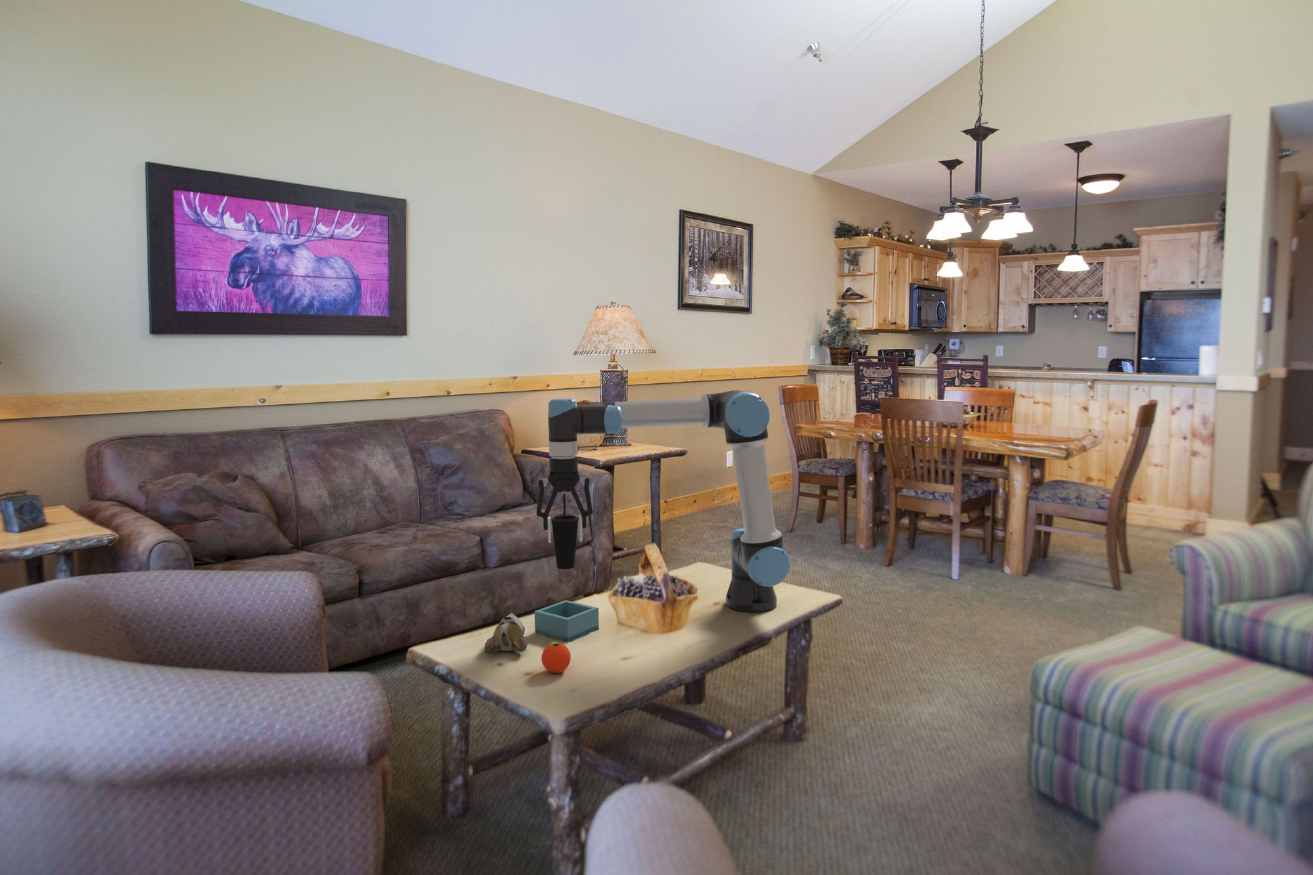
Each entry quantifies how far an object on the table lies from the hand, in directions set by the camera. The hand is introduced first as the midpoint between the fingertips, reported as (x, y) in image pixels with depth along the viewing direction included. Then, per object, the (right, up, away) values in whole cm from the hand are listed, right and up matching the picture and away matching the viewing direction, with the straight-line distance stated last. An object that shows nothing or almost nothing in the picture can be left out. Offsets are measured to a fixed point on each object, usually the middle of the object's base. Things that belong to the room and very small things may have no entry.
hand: (565, 540), depth 217 cm
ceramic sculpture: (-13, -27, -10) cm, 32 cm away
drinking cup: (0, -7, +1) cm, 7 cm away
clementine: (+1, -28, -25) cm, 38 cm away
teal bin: (0, -25, +3) cm, 25 cm away
